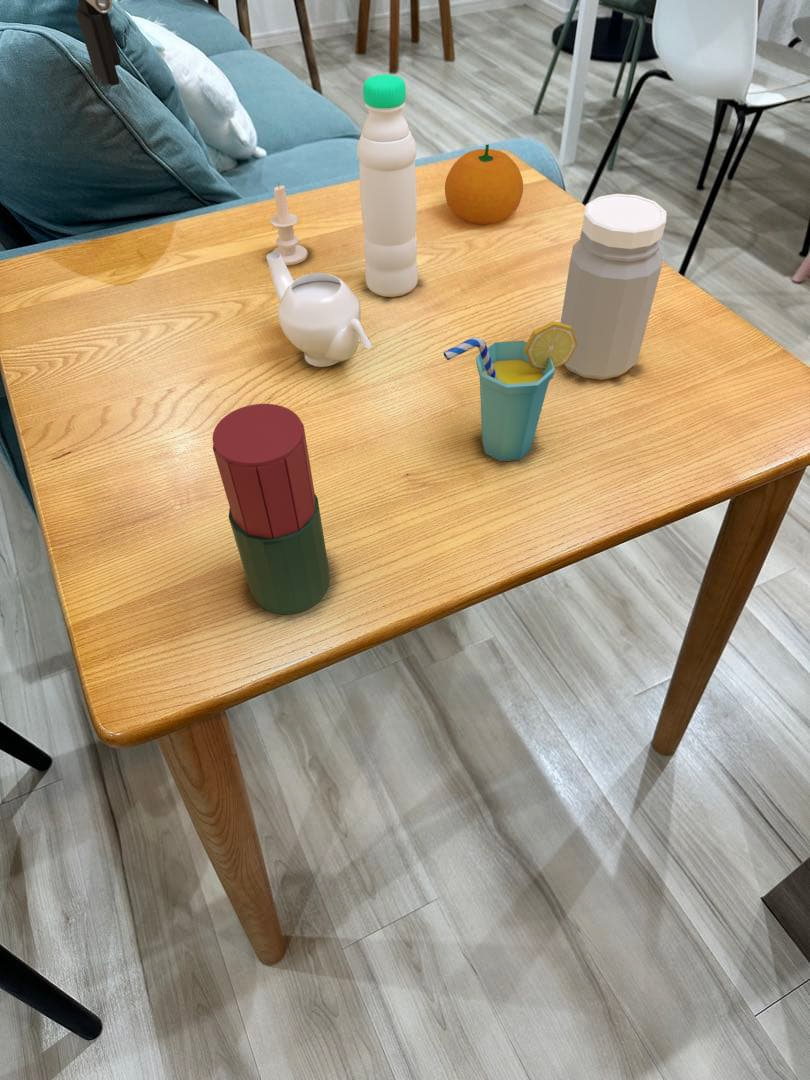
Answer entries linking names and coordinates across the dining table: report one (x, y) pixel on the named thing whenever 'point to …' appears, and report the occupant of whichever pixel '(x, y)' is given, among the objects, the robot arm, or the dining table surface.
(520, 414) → the cup
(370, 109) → the water bottle
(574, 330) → the jar
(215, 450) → the grooved red cylinder
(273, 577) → the green bottle
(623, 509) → the dining table surface
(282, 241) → the candle
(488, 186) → the fruit
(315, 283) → the teapot
